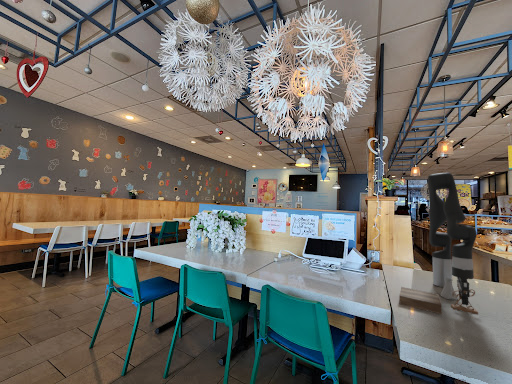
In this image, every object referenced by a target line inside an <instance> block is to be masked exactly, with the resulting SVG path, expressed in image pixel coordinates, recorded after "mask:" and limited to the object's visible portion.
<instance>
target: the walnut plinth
mask: <svg viewBox="0 0 512 384" xmlns="http://www.w3.org/2000/svg"><path fill="white" fill-rule="evenodd" d="M399 292H400V293H399V305H403V306H407V307H412V308H415V309H420V310H423V311H427V310H428V311H427V312H431V311H432V313H435V312H436V314H439V313H440V314H439V315H443V308H442V302H441V298H440V297H441V296H440V295H439V294H438V293H433V292H428V291H424V290H419V289H414V288H409V287H405V286H404V287H403V286H401V287H400V290H399Z"/></svg>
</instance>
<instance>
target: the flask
mask: <svg viewBox="0 0 512 384" xmlns="http://www.w3.org/2000/svg"><path fill="white" fill-rule="evenodd" d="M454 291H455V289H454V286H453V278H452V279H450V278H445V285H444V287H442V290H441V292H440V295H439V296H440V297H442V298H444V299H446V300H450V301H451V300H452V301H458V300H459V297H457V298H455V297H456V295H457V294H456V293H457V292H455V293H454V294H456V295H452V294H453V292H454ZM453 296H454V297H453Z"/></svg>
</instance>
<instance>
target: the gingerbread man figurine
mask: <svg viewBox="0 0 512 384" xmlns="http://www.w3.org/2000/svg"><path fill="white" fill-rule="evenodd" d="M458 288H459V286H458V287H457V290H454V292H453V294H452V295H456V297H455V298H458V300H456V302H455V303H454V304H452V303H451V304H450V307H451V309H452V308H453V309H452V310H455V309H457V310H456V311H460V310H462V311H461V312H465V313H470V314H474V315H479V312H478V310H477V309H476V308H474V307H473V305H472V304H471V303H470V301H469V300H468V304H469V305H465V306H462V305H463V304H462V303H461V304H460V303H459V302H460V300H461V301H462V298H460V294H459V293H457V292H459V290H458ZM469 290H470V291H469V294H471V293H472V294H471V295H470V297H471V298H472V297H474V296H475V295H476V291H475V290H474V289H471V288H469ZM460 292H461V291H460ZM454 293H457V294H454ZM464 293H466V292H464ZM466 294H467V293H466ZM453 297H454V296H453ZM470 297H469V298H470Z"/></svg>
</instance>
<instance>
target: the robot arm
mask: <svg viewBox="0 0 512 384" xmlns="http://www.w3.org/2000/svg"><path fill="white" fill-rule="evenodd" d="M427 187H428V198H429V199H428V200H429V201H428V203H429V204H428V213H429V214H428V215H429V217H428V218H429V235H428V238H429V239H428V242H429V244H430V246H432V247H438V248H443V249H442V250H438V251H434V252H433V251H432V255H431V256H432V258H431V259H432V284H433V285H434V286H437V287H441V288H444V285H445V278H450V279H452V280H453V277H456V287H457V290H459V291H458V294H460V298H462V300H461V304H462V305H464V306H466V305H467V306H470V304H469V302H468V301H469V298H470V296H471V295H470V293H469V291H470V282H469V281H468V280H473V279H474V278H475V277H474V276H475V275H474V261H473V248H474V245H475V243H476V239H477V235H478V234H477V231H476V229H475V227H473V226H471V225H459V224H461V223H463V222H464V221H466V215H465V214H464V212H463V209H462V207H461V203H460V199H459V194H458V190H457V186H456V181H455V177H454V176H453V174H452V173H451V172H450V171H449V172H439V173H432V174H429V175H428V176H427ZM440 190H448V195H447V197H446V199H445V200H443V199H442V198H441V197H440V196H439V195H438V193H437V191H440ZM445 223H446V232H440V231H438V230H439V229H440V228H441V227H442V226H443V225H444V224H445ZM452 240H456V241H457V240H458V241H462V242H461V243H457V244H453V245H452ZM458 286H459V288H458ZM460 291H461V292H460ZM464 292H466V293H464Z"/></svg>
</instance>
